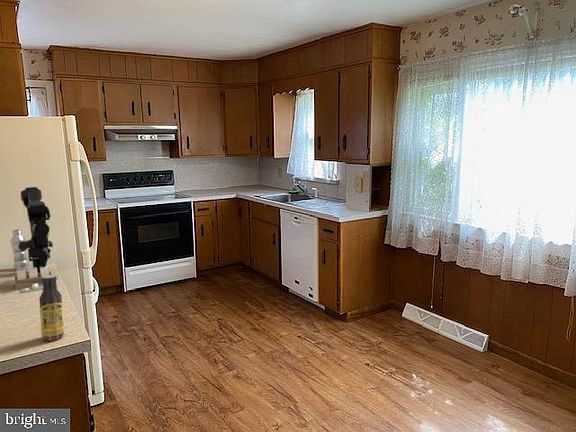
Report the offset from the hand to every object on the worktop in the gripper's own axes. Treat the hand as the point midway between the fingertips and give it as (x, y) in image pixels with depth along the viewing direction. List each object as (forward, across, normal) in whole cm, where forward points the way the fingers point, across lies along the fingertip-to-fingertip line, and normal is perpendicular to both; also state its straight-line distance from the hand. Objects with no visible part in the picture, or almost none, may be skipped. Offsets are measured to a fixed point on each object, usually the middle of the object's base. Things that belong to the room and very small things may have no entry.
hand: (44, 267), depth 191 cm
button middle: (+5, +1, -4) cm, 7 cm away
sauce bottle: (+7, +67, +12) cm, 69 cm away
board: (+7, +1, -4) cm, 8 cm away
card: (+7, +9, -2) cm, 12 cm away
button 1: (+5, +2, -9) cm, 10 cm away
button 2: (+5, 0, 0) cm, 5 cm away
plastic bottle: (+7, -30, -15) cm, 34 cm away
